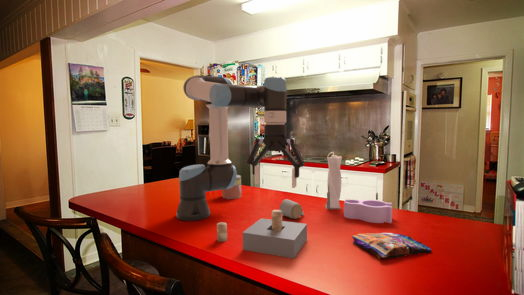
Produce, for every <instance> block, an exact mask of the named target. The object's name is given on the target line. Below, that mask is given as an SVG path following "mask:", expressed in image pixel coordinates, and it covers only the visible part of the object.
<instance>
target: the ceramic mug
mask: <svg viewBox="0 0 524 295" xmlns="http://www.w3.org/2000/svg"><path fill="white" fill-rule="evenodd" d="M279 210H281V211H282V216H284V217H287V218H290V219H292V220H298V219H299V218H300V217H301V216H304V215H305V212H304V211H303V207H302V205H301V204H300V203H298V202H296V201H294V200H291V199H287V198H284V199H283V200H282V201H281V202H280V205H279Z"/></svg>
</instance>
